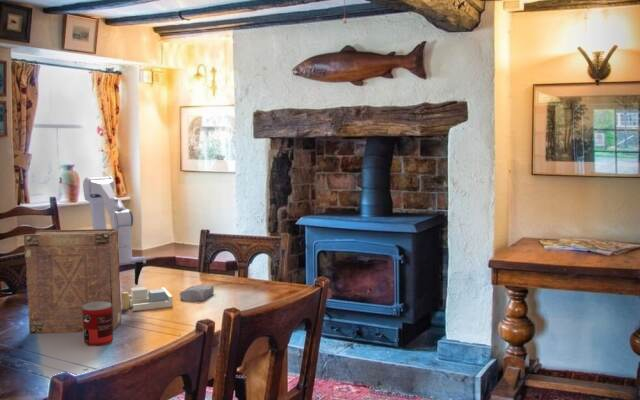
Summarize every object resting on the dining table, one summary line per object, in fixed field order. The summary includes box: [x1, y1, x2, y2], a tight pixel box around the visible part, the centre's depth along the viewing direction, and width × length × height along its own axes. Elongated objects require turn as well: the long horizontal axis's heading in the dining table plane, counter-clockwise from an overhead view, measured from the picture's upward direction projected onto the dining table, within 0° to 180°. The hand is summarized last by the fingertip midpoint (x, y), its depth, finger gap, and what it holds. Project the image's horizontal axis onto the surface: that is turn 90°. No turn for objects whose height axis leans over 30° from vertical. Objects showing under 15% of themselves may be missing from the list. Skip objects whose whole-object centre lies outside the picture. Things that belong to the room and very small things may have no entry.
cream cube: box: [130, 286, 149, 300], centre depth 235 cm, size 5×5×5 cm
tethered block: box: [120, 288, 166, 311], centre depth 228 cm, size 5×14×6 cm, turn 113°
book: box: [23, 228, 122, 334], centre depth 203 cm, size 25×9×30 cm, turn 91°
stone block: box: [179, 284, 215, 302], centre depth 241 cm, size 12×5×10 cm
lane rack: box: [129, 287, 174, 312], centre depth 232 cm, size 15×13×4 cm
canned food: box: [82, 301, 114, 347], centre depth 189 cm, size 8×8×11 cm
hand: (124, 285), depth 225 cm, fingers open, 7 cm apart
